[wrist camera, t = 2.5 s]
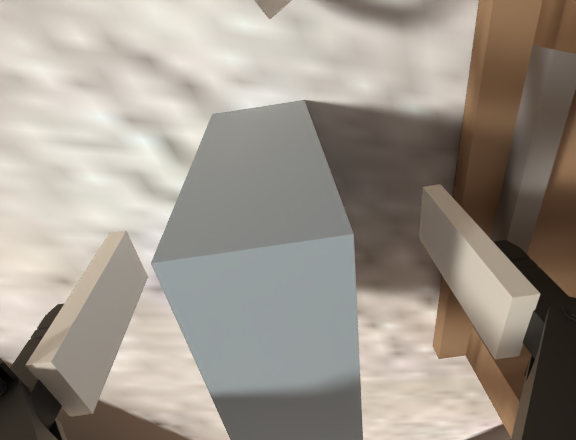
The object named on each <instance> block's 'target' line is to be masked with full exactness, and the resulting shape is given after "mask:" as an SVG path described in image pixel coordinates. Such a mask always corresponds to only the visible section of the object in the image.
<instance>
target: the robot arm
mask: <svg viewBox="0 0 576 440" xmlns="http://www.w3.org/2000/svg"><path fill="white" fill-rule="evenodd" d="M419 239H420V241H421V242H422V244H423V246H424V247H425V249H426V250H427V252H428V253H429V255H430V257H431V258H432V260H433V261H434V263H435V265H436V266H437V268H438V269H439V271H440V273H441V274H442V276H443V277H444V279H445V281H446V282H447V284H448V285H449V287H450V289H451V290H452V292H453V293H454V295H455V297H456V298H457V300H458V301H459V303H460V305H461V306H462V308H463V309H464V311H465V313H466V314H467V316H468V317H469V319H470V321H471V322H472V324H473V325H474V327H475V328H476V330H477V332H478V333H479V335H480V336H481V338H482V340H483V341H484V343H485V344H486V346H487V348H488V349H489V351H490V352H491V354H492V356H493V357H494V359H502V358H509V357H517V356H519V355H520V352H521V349H522V346H523V344H524V345H525V347H526V348H527V349H528V351H529V352H530V353H531V357H530V360H529V363H528V365H527V368H526V371H525V373H524V376H526V377H525V381H524V385H523V390H522V394H521V398H520V403H519V407H518V411H517V415H516V420H515V424H514V428H513V433H512V437H511V440H576V298H574V297H569V296H568V295H567V294H566V293H565V292H564V291H563V290H562V289H561V288H560V287H559V286H558V285H557V284H556V283H555V282H554V281H553V280H552V279H551V278H550V277H549V276H548V275H547V274H546V273H545V272H544V271H543V270H542V269H541V268H540V267H538V265H537V264H536V263H535V262H534V261H533V260H532V259H530V257H529V256H528V255H527V254H526V253H525V252H524V251H523V250H522V249H521V248H520V247H518V246H516V245H515V244H513V243H511V242H509V241H507V240H500V241H492V240H491V239H490V238H489V237H488V236H487V235H486V234H485V232H484V231H483V230H482V229H481V228H480V227H479V226H478V225H477V224H476V223H475V222H474V220H473V219H472V218H471V217H470V216H469V215H468V214H467V213H466V212H465V211H464V209H463V208H462V207H461V206H460V205H459V204H458V203H457V202H456V201H455V200H454V199H453V197H452V196H451V195H450V194H449V193H448V192H447V191H446V190H445V189H444V188H443V186H442V185H441V184H439V185H432V186H426V187H423V191H422V203H421V216H420V229H419ZM147 278H148V276H147V274H146V272H145V270H144V268H143V265H142V263H141V261H140V259H139V257H138V255H137V253H136V250H135V248H134V246H133V244H132V242H131V240H130V238H129V236H128V233H127V231H121V232H114V233H109V234H108V236H107V238H106V239H105V241H104V242H103V244H102V245H101V247H100V249H99V250H98V252H97V253H96V255H95V256H94V258H93V260H92V261H91V263H90V264H89V266H88V267H87V269H86V271H85V272H84V274H83V275H82V277H81V278H80V280H79V282H78V283H77V285H76V286H75V288H74V289H73V291H72V293H71V294H70V296H69V297H68V299H67V300H66V302H65V304H58V305H57V306H56V307H54V308H53V309H52V310H51V311H50V312H49V313H48V314H47V315H46V316H45V317H44V318H43V320H42V321H41V323H40V324H39V326H38V327H37V328H38V329H37V330H35V332H34V333H33V335H32V336H31V340H29V341H28V342H27V344H26V345H25V347H24V348H23V350H22V351H21V353H20V354H19V356H18V357H17V359H16V360H15V362H14V363H13V365H12V366H11V368H9V367H8V366H7V365H6V364H5V363H4V362H3V360H2V359H1V358H0V440H67V439H66V436H65V434H64V431H63V428H62V426H61V424H60V422H59V421H58V420H57V419H56V417H57V415H58V413H59V411H60V409H61V407H62V408H63V409H64V410H65V411H66V412H67V414H68V415H69V416H77V415H85V414H92V413H93V412H94V409H95V407H96V404H97V401H98V399H99V397H100V394H101V392H102V389H103V387H104V385H105V382H106V380H107V377H108V375H109V372H110V370H111V367H112V365H113V362H114V360H115V357H116V355H117V352H118V350H119V347H120V345H121V342H122V340H123V338H124V335H125V333H126V330H127V328H128V325H129V323H130V320H131V318H132V315H133V313H134V310H135V308H136V305H137V303H138V300H139V298H140V295H141V293H142V291H143V288H144V286H145V283H146V281H147Z"/></svg>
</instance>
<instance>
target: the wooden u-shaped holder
mask: <svg viewBox="0 0 576 440" xmlns="http://www.w3.org/2000/svg"><path fill="white" fill-rule="evenodd" d="M453 199H454V200H455V201H456V202H457V203H458V204H459V205H460V206H461V207H462V208H463V209H464V211H465V212H466V213H467V214H468V215H469V216H470V217H471V218H472V219H473V220H474V222H475V223H476V224H477V225H478V226H479V227H480V228H481V229H482V230H483V231H484V232H485V234H486V235H487V236H488V237H489V238H490V239H491V240H492V241H500V240H507V241H509V242H511V243H513V244H515V245H516V246H518V247H520V248H521V249H522V250H523V251H524V252H525V253H526V254H527V255H528V256H529V257H530V259H532V260H533V261H534V262H535V263H536V264H537V265H538V267H540V268H541V269H542V270H543V271H544V272H545V273H546V274H547V275H548V276H549V277H550V278H551V279H552V280H553V281H554V282H555V283H556V284H557V285H558V286H559V287H560V288H561V289H562V290H563V291H564V292H565V293H566V294H567V295H568V296H569V297H574V298H576V0H479V4H478V12H477V19H476V27H475V34H474V42H473V49H472V57H471V64H470V72H469V79H468V87H467V94H466V102H465V109H464V117H463V124H462V132H461V139H460V147H459V154H458V162H457V169H456V177H455V184H454V192H453ZM433 348H434V350H435V352H436V354H437V356H438V358H439V359H442V358H449V357H457V356H464V355H466V357H467V359H468V361H469V362H470V364H471V366H472V368H473V370H474V371H475V373H476V375H477V377H478V379H479V380H480V382H481V384H482V386H483V388H484V390H485V391H486V393H487V395H488V397H489V399H490V400H491V402H492V404H493V406H494V408H495V409H496V411H497V413H498V415H499V417H500V418H501V420H502V422H503V424H504V426H505V428H506V429H507V431H508V433H509V435H510V437H512V433H513V428H514V424H515V420H516V415H517V411H518V407H519V403H520V398H521V394H522V390H523V385H524V381H525V377H526V376H524V373H525V371H526V368H527V365H528V363H529V360H530V357H531V353H530V352H529V351H528V349H527V348H526V347H525V345H524V344H523V346H522V349H521V352H520V355H519V356H517V357H509V358H502V359H494V357H493V356H492V354H491V352H490V351H489V349H488V348H487V346H486V344H485V343H484V341H483V340H482V338H481V336H480V335H479V333H478V332H477V330H476V328H475V327H474V325H473V324H472V322H471V321H470V319H469V317H468V316H467V314H466V313H465V311H464V309H463V308H462V306H461V305H460V303H459V301H458V300H457V298H456V297H455V295H454V293H453V292H452V290H451V289H450V287H449V285H448V284H447V282H446V281H445V279H444V277H443V276H442V282H441V289H440V297H439V304H438V312H437V319H436V327H435V334H434V342H433Z"/></svg>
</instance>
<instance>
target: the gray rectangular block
mask: <svg viewBox="0 0 576 440" xmlns="http://www.w3.org/2000/svg"><path fill="white" fill-rule="evenodd" d="M151 265H152V267H153V269H154V271H155V273H156V276H157V278H158V280H159V282H160V284H161V287H162V289H163V291H164V293H165V295H166V298H167V300H168V302H169V304H170V307H171V309H172V311H173V313H174V315H175V318H176V320H177V322H178V324H179V326H180V329H181V331H182V333H183V335H184V338H185V340H186V342H187V344H188V346H189V349H190V351H191V353H192V355H193V357H194V360H195V362H196V364H197V366H198V369H199V371H200V373H201V375H202V377H203V380H204V382H205V384H206V386H207V388H208V391H209V393H210V395H211V397H212V399H213V402H214V404H215V406H216V408H217V411H218V413H219V415H220V417H221V419H222V422H223V424H224V426H225V428H226V430H227V433H228V435H229V437H230V439H231V440H363V431H362V409H361V386H360V363H359V341H358V318H357V296H356V273H355V251H354V233H353V231H352V228H351V225H350V222H349V220H348V217H347V214H346V212H345V209H344V206H343V203H342V201H341V198H340V195H339V193H338V190H337V187H336V184H335V182H334V179H333V176H332V174H331V171H330V168H329V166H328V163H327V160H326V157H325V155H324V152H323V149H322V147H321V144H320V141H319V138H318V136H317V133H316V130H315V128H314V125H313V122H312V119H311V117H310V114H309V111H308V109H307V106H306V103H305V100H301V101H295V102H288V103H282V104H276V105H269V106H263V107H256V108H250V109H243V110H237V111H231V112H224V113H218V114H212V116H211V119H210V121H209V124H208V126H207V128H206V131H205V133H204V136H203V138H202V141H201V143H200V145H199V148H198V150H197V153H196V155H195V158H194V160H193V162H192V165H191V167H190V170H189V172H188V175H187V177H186V180H185V182H184V184H183V187H182V189H181V192H180V194H179V197H178V199H177V201H176V204H175V206H174V209H173V211H172V214H171V216H170V218H169V221H168V223H167V226H166V228H165V231H164V233H163V235H162V238H161V240H160V243H159V245H158V248H157V250H156V252H155V255H154V257H153V260H152V262H151Z"/></svg>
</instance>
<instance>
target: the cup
mask: <svg viewBox="0 0 576 440" xmlns="http://www.w3.org/2000/svg"><path fill="white" fill-rule="evenodd" d="M255 1H256V3H257V4H258V6H259V7H260V8H261V10H262V11H263V12H264V13H265V14H266V16H267V17H268V18H269V19H271V18H272V17H273V16H274V15H276V14H277V13H278V12H279V11H280V10H281V9H283V8H284V7H285V6H286V5H287V4H288V3H290V2H291V1H292V0H255Z"/></svg>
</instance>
